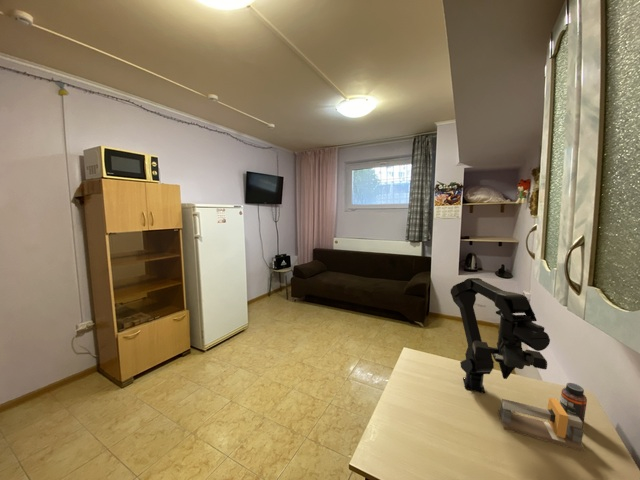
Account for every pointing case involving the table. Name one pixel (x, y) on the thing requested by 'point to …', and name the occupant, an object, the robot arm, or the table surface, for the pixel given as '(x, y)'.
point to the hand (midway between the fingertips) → (504, 378)
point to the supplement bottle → (574, 400)
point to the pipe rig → (539, 424)
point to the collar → (558, 418)
